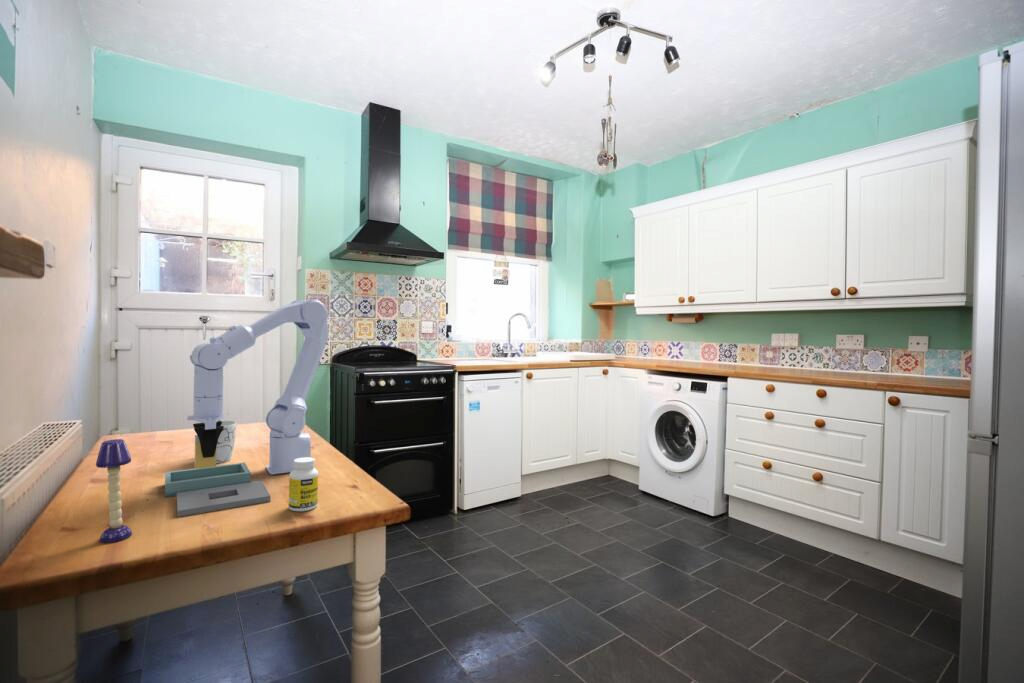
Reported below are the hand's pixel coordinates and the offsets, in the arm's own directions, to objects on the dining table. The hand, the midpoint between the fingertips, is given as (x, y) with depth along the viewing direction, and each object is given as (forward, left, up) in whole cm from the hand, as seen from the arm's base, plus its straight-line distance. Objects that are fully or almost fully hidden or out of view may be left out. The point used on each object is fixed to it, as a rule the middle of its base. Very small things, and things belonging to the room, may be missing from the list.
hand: (208, 455), depth 111 cm
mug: (-3, -23, -7) cm, 24 cm away
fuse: (0, 0, -2) cm, 2 cm away
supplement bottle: (-15, +26, -7) cm, 31 cm away
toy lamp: (+15, +24, -7) cm, 29 cm away
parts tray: (0, 0, -7) cm, 7 cm away
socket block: (-2, +13, -7) cm, 15 cm away
